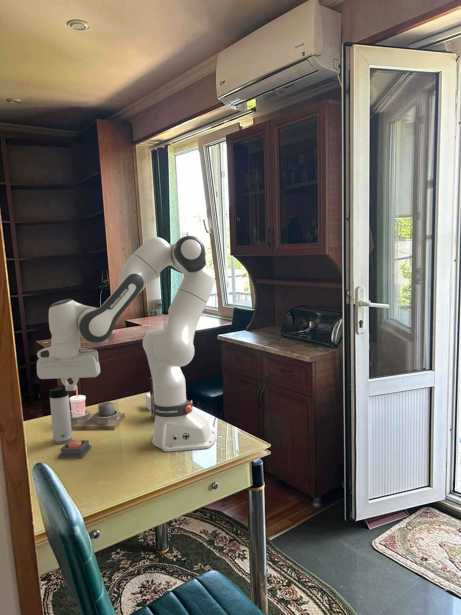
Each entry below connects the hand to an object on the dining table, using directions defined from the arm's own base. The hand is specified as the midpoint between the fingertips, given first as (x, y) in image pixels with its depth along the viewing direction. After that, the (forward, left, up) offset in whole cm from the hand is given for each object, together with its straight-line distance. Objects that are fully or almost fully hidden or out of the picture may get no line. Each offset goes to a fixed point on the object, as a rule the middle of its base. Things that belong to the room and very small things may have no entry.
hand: (71, 390), depth 154 cm
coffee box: (-23, -32, -22) cm, 45 cm away
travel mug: (+9, -10, -22) cm, 26 cm away
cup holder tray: (+4, -26, -22) cm, 34 cm away
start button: (0, 0, -20) cm, 20 cm away
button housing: (0, 0, -22) cm, 22 cm away
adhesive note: (-17, -43, -22) cm, 51 cm away
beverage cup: (+9, -26, -20) cm, 34 cm away
